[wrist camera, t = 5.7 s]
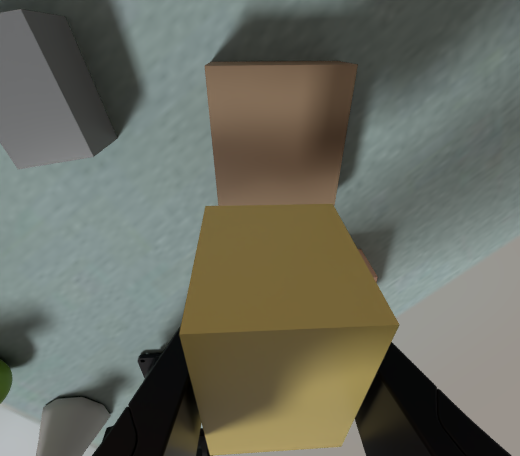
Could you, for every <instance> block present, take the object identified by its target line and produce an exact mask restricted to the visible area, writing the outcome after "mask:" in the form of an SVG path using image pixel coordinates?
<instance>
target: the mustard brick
mask: <svg viewBox="0 0 520 456" xmlns="http://www.w3.org/2000/svg"><path fill="white" fill-rule="evenodd" d="M398 327H399V323H398V321H397V320H396V318H395V316H394V314H393V312H392V310H391V309H390V307H389V305H388V303H387V301H386V300H385V298H384V296H383V294H382V292H381V291H380V289H379V287H378V285H377V283H376V282H375V280H374V278H373V276H372V274H371V272H370V271H369V269H368V267H367V265H366V263H365V262H364V260H363V258H362V256H361V254H360V253H359V251H358V249H357V247H356V245H355V243H354V242H353V240H352V238H351V236H350V234H349V233H348V231H347V229H346V227H345V225H344V224H343V222H342V220H341V218H340V216H339V215H338V213H337V211H336V209H335V207H334V205H333V204H294V205H240V206H205V211H204V216H203V221H202V226H201V231H200V236H199V241H198V245H197V250H196V255H195V260H194V265H193V270H192V275H191V280H190V284H189V289H188V294H187V299H186V304H185V309H184V314H183V318H182V323H181V328H180V333H179V336H180V340H181V344H182V347H183V351H184V355H185V359H186V363H187V367H188V371H189V375H190V379H191V383H192V387H193V391H194V395H195V399H196V402H197V406H198V410H199V414H200V418H201V422H202V426H203V430H204V434H205V438H206V442H207V446H208V450H209V454H210V456H211V455H226V454H239V453H255V452H269V451H284V450H298V449H313V448H328V447H341V446H342V444H343V442H344V440H345V437H346V436H347V433H348V431H349V429H350V427H351V425H352V423H353V421H354V419H355V417H356V415H357V413H358V410H359V408H360V406H361V404H362V402H363V400H364V398H365V396H366V394H367V392H368V390H369V387H370V385H371V383H372V381H373V379H374V377H375V375H376V373H377V371H378V369H379V367H380V365H381V362H382V360H383V358H384V356H385V354H386V352H387V350H388V348H389V346H390V344H391V341H392V339H393V337H394V335H395V333H396V331H397V329H398Z"/></svg>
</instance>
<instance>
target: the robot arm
mask: <svg viewBox="0 0 520 456" xmlns="http://www.w3.org/2000/svg"><path fill="white" fill-rule="evenodd" d="M180 328H181V326H180ZM180 328H179V329H178V331H177V332H176V334H175V335H174V337H173V338H172V340H171V341H170V343H169V344H168V346H167V347H166V349H165V350H164V352H163V353H162V354H145V355H140V356H139V358H138V363H139V366H140V368H141V371H142V373H143V376H144V378H145V379H144V381H143V383H142V384H141V386H140V387H139V389H138V390H137V392H136V393H135V395H134V396H133V398H132V399H131V401H130V402H129V404H128V406H129V407H126V408H125V410H124V411H123V413H122V414H121V416H120V417H119V419H118V420H117V422H116V423H115V425H114V426H111V427H108V428H107V429H106V432H105V435H104V438H103V441H102V443H101V444H100V446H99V447H98V448H97V450H96V451H95V452H94V454H93V455H92V456H210V454H209V450H208V446H207V442H206V438H205V434H204V430H203V428H201V418H200V414H199V410H198V406H197V402H196V399H195V395H194V391H193V387H192V383H191V379H190V375H189V371H188V367H187V363H186V359H185V355H184V351H183V347H182V344H181V340H180V336H179V333H180ZM355 421H356V424H357V427H358V431H359V434H360V437H361V440H362V444H363V447H364V450H365V453H366V456H511V455H510V454H509V453H508V452H507V451H506V450H504V449H503V448H502V447H501V446H500V445H499V444H498V443H496V442H495V441H494V440H493V439H492V438H490V436H489V435H487V434H486V433H485V432H484V431H483V430H482V429H481V428H479V427H478V426H477V425H476V424H475V423H474V422H473V421H472V420H471V419H470V418H469V417H467V416H466V415H465V414H464V413H463V412H462V411H461V410H460V409H459V408H458V407H457V406H456V405H455V404H454V403H453V402H452V401H451V400H450V399H449V398H448V397H447V396H446V395H445V394H444V393H443V392H442V391H441V390H439V389H437V387H436V386H435V385H434V384H433V383H432V382H431V381H430V380H429V379H428V378H427V377H426V376H425V375H424V374H423V373H422V372H421V371H420V370H419V369H418V368H417V367H416V366H415V365H414V364H413V363H412V362H411V361H410V360H409V359H408V358H407V357H406V356H405V355H404V354H403V353H402V352H401V351H400V350H399V349H398V348H397V347H396V346H395V345H394V344H393V343H392V342H391V344H390V346H389V348H388V350H387V352H386V354H385V356H384V358H383V360H382V362H381V365H380V367H379V369H378V371H377V373H376V375H375V377H374V379H373V381H372V383H371V385H370V387H369V390H368V392H367V394H366V396H365V398H364V400H363V402H362V404H361V406H360V408H359V410H358V413H357V415H356V417H355ZM211 456H213V455H211Z"/></svg>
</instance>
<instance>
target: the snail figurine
mask: <svg viewBox="0 0 520 456" xmlns="http://www.w3.org/2000/svg"><path fill="white" fill-rule="evenodd" d="M11 385H12V372H11V370H10V368H9V366H8V365H7V364H6V363H5V362H3V361H2V360H0V404H1V403H2V401H3V400H4V399H5V398H6V396H7V394H8V393H9V391H10V388H11Z"/></svg>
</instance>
